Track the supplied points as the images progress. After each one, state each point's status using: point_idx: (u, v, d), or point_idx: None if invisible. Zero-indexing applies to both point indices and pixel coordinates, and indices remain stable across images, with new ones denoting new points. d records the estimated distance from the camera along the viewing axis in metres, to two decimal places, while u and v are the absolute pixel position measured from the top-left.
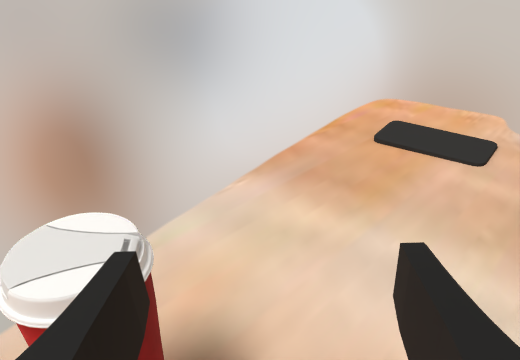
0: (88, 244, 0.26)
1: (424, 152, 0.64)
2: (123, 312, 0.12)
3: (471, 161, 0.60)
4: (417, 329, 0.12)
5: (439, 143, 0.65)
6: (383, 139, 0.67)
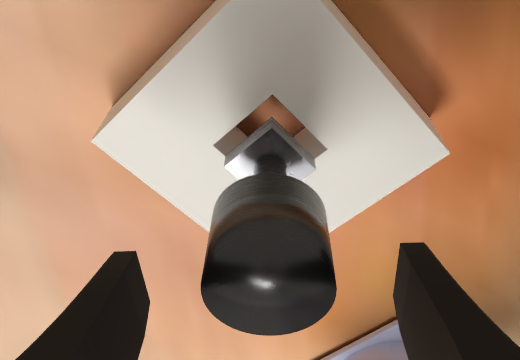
0: None
1: None
2: (123, 312, 0.12)
3: None
4: (417, 330, 0.12)
5: None
6: None
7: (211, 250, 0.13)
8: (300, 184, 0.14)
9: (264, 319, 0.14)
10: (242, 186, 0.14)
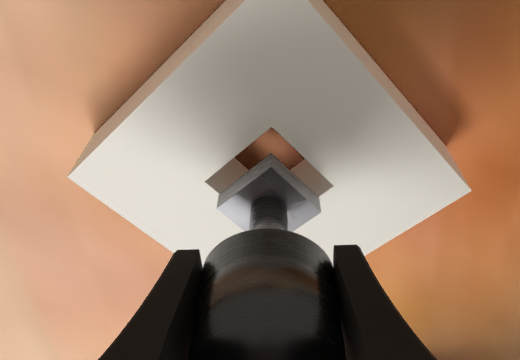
0: None
1: None
2: (191, 310, 0.12)
3: None
4: (344, 331, 0.12)
5: None
6: None
7: (198, 329, 0.11)
8: (304, 242, 0.12)
9: None
10: (236, 245, 0.12)
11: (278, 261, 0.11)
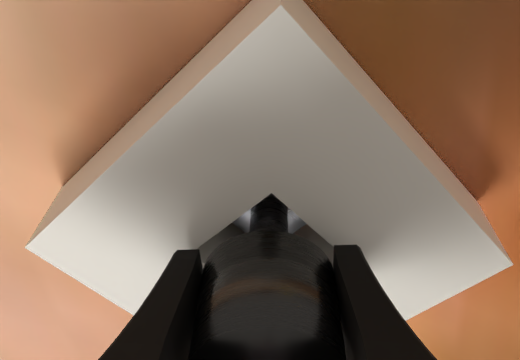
0: None
1: None
2: (192, 310, 0.12)
3: None
4: (344, 331, 0.12)
5: None
6: None
7: (198, 331, 0.11)
8: (304, 243, 0.12)
9: None
10: (236, 247, 0.12)
11: (278, 263, 0.11)
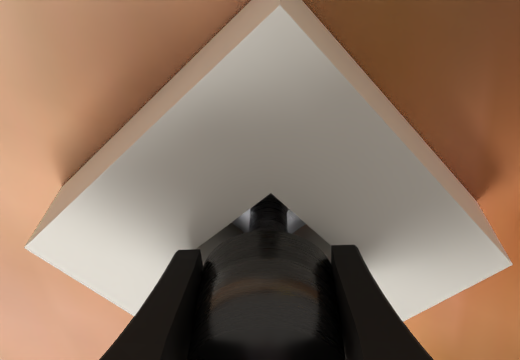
0: None
1: None
2: (192, 310, 0.12)
3: None
4: (342, 331, 0.12)
5: None
6: None
7: (197, 331, 0.11)
8: (304, 243, 0.12)
9: None
10: (235, 247, 0.12)
11: (277, 263, 0.11)
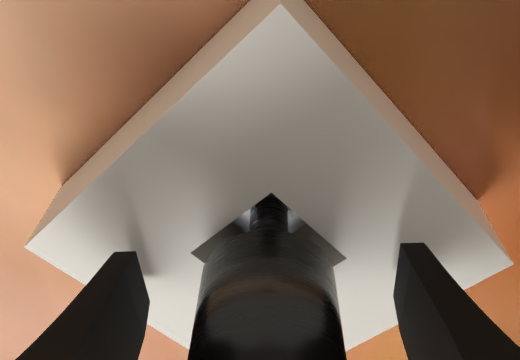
0: None
1: None
2: (123, 312, 0.12)
3: None
4: (417, 330, 0.12)
5: None
6: None
7: (198, 331, 0.11)
8: (304, 243, 0.12)
9: None
10: (236, 246, 0.12)
11: (278, 263, 0.11)
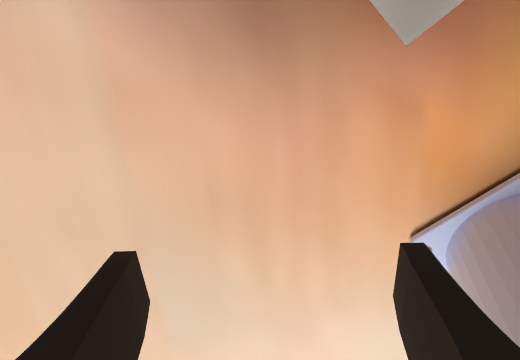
0: None
1: None
2: (123, 312, 0.12)
3: None
4: (417, 329, 0.12)
5: None
6: None
7: None
8: None
9: None
10: None
11: None
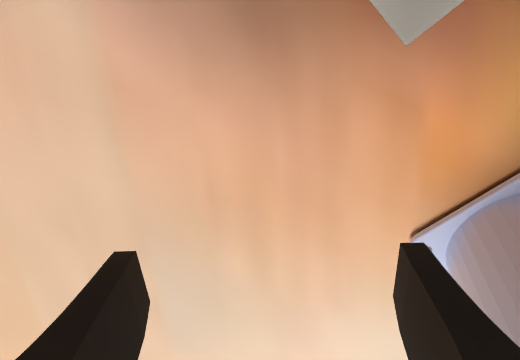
0: None
1: None
2: (123, 312, 0.12)
3: None
4: (417, 329, 0.12)
5: None
6: None
7: None
8: None
9: None
10: None
11: None
